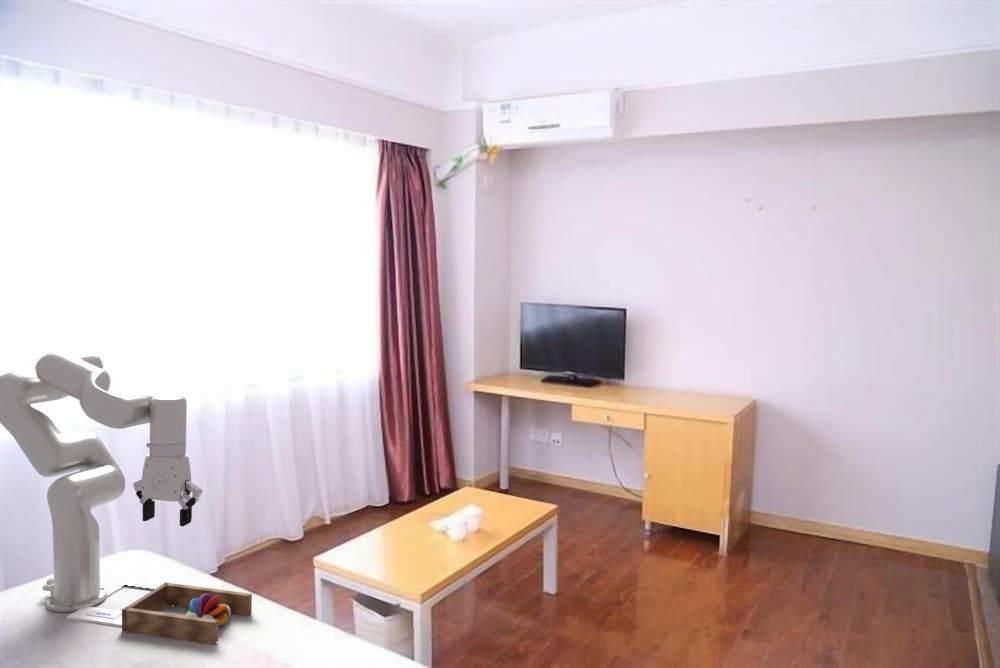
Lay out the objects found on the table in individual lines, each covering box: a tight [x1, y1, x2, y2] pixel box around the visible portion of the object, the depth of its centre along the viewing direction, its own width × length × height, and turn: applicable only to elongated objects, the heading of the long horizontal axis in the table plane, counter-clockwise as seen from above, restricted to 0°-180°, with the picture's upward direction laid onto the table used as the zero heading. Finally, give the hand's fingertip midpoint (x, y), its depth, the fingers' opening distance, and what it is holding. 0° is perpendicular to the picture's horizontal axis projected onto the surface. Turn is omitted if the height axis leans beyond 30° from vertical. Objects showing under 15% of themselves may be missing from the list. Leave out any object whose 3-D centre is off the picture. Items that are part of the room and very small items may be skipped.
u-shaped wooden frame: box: [121, 582, 253, 645], centre depth 156 cm, size 23×14×5 cm, turn 79°
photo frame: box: [66, 583, 157, 628], centre depth 164 cm, size 15×1×18 cm
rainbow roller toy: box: [185, 594, 232, 627], centre depth 155 cm, size 8×10×7 cm
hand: (166, 521), depth 156 cm, fingers open, 9 cm apart
